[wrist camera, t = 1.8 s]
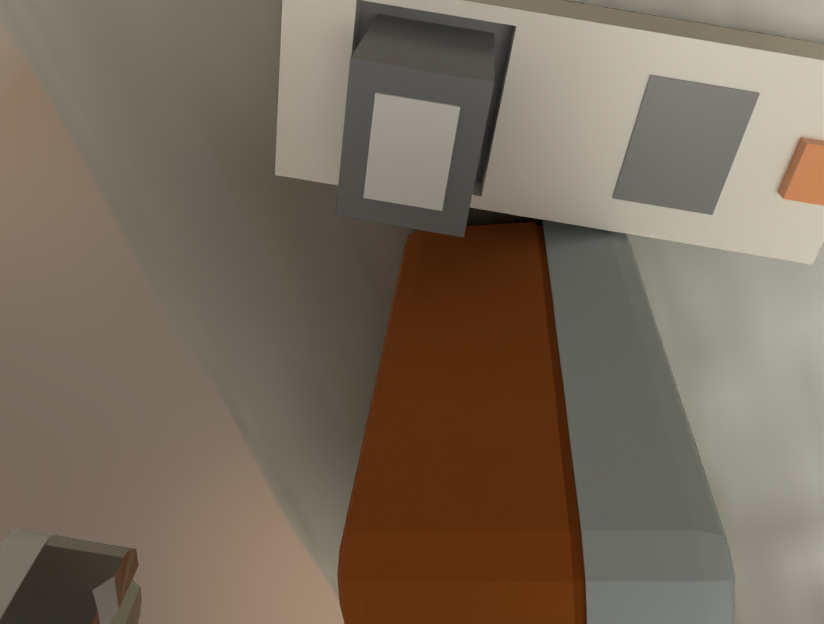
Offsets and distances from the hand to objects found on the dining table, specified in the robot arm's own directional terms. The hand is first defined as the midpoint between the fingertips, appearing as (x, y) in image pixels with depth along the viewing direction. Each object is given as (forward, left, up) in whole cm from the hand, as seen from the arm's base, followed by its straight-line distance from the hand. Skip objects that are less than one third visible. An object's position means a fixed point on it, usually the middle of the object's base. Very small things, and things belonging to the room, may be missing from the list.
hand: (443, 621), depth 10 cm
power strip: (+1, -7, -22) cm, 24 cm away
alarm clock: (-13, -5, -23) cm, 27 cm away
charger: (+1, +2, -21) cm, 21 cm away
